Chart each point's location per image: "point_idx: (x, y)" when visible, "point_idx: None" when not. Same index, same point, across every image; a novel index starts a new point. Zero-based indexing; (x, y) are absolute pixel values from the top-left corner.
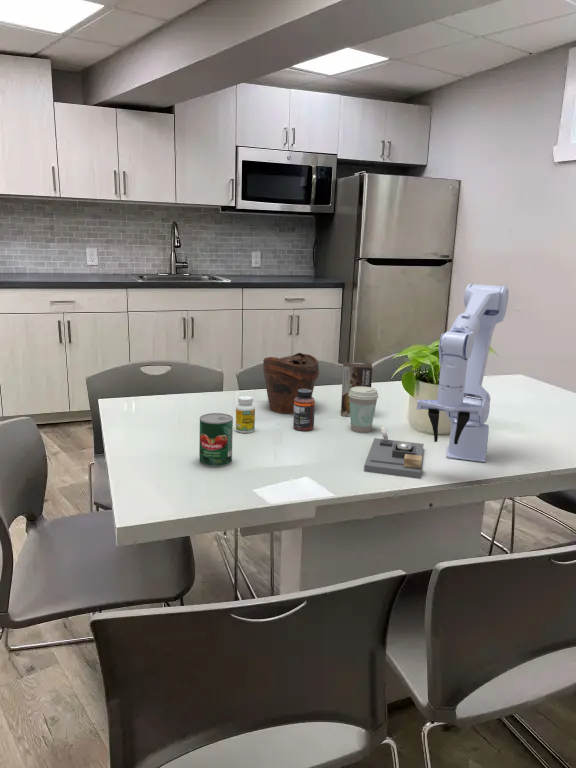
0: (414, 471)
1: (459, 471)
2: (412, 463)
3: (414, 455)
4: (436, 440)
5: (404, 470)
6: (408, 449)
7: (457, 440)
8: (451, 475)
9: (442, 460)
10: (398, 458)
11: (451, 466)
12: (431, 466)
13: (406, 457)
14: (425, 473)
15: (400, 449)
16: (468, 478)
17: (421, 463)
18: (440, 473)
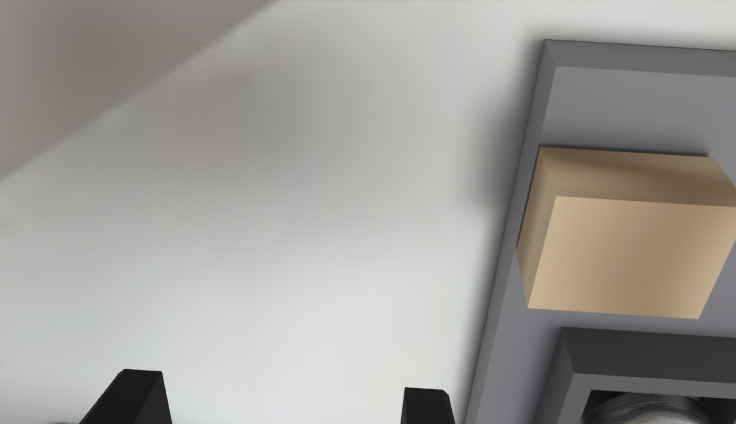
0: (618, 72)
1: (195, 267)
2: (640, 175)
3: (607, 302)
4: (419, 404)
5: (723, 75)
6: (626, 418)
7: (96, 411)
8: (251, 180)
9: (325, 408)
10: (699, 324)
11: (260, 335)
12: (409, 306)
13: (713, 237)
14: (473, 168)
15: (695, 413)
16: (109, 154)
17: (494, 307)
18: (343, 198)
